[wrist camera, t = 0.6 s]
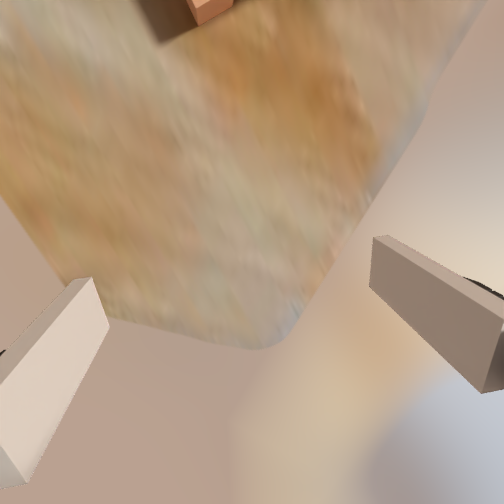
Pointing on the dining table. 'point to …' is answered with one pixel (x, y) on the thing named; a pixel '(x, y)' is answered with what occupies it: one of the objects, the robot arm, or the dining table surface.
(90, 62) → the dining table surface
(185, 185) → the dining table surface
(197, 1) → the block
